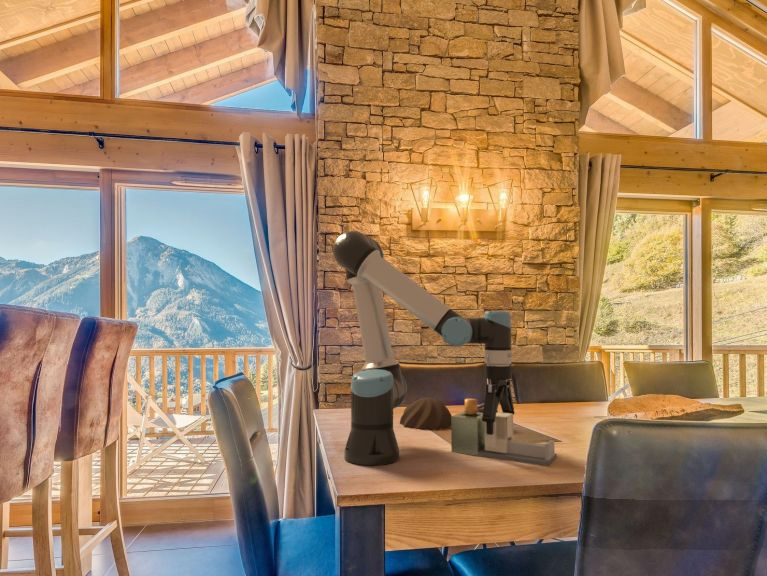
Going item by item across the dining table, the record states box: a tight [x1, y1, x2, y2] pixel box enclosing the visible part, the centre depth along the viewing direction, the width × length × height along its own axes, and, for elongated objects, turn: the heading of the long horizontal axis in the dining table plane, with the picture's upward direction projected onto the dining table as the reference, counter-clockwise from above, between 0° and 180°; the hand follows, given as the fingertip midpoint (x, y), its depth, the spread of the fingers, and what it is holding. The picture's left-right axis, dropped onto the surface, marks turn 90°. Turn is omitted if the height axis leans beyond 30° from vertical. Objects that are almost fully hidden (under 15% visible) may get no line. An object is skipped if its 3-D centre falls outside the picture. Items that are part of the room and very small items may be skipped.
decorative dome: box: [399, 396, 453, 431], centre depth 183 cm, size 19×20×10 cm
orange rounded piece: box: [464, 398, 478, 415], centre depth 147 cm, size 4×4×4 cm
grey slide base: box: [478, 439, 557, 467], centre depth 139 cm, size 10×19×5 cm, turn 58°
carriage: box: [485, 411, 514, 453], centre depth 142 cm, size 7×6×10 cm
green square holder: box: [450, 410, 485, 456], centre depth 146 cm, size 10×8×10 cm
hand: (499, 441), depth 142 cm, fingers open, 12 cm apart
